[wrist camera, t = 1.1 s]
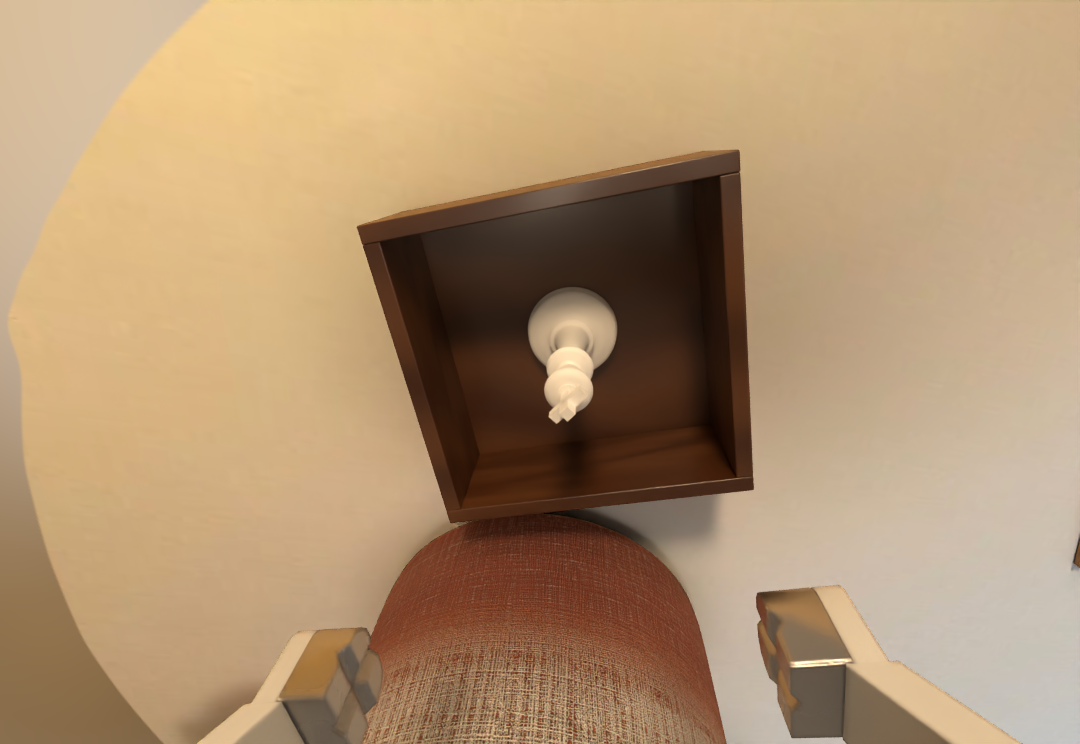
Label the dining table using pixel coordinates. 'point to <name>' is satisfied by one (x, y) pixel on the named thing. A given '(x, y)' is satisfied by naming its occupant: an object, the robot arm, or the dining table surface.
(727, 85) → the dining table surface
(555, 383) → the chess piece
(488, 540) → the planter
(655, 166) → the crate
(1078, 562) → the coaster
